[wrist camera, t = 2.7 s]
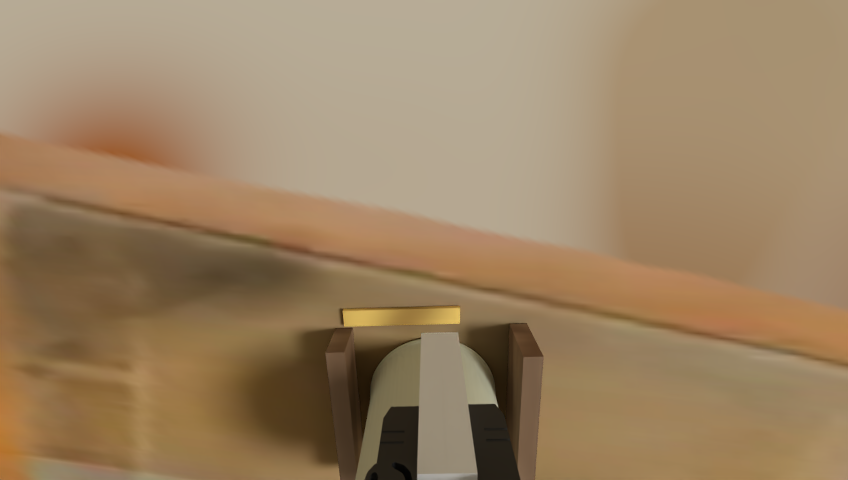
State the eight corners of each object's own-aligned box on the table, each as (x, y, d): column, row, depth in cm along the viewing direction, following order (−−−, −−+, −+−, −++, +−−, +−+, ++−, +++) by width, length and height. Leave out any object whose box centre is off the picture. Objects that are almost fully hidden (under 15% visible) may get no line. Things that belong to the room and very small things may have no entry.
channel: (350, 462, 31) (339, 511, 27) (333, 309, 27) (318, 340, 23) (519, 458, 31) (532, 506, 27) (527, 304, 27) (545, 334, 23)
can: (492, 440, 30) (534, 635, 19) (373, 441, 30) (344, 637, 19) (497, 335, 28) (549, 489, 16) (367, 337, 28) (327, 491, 16)
